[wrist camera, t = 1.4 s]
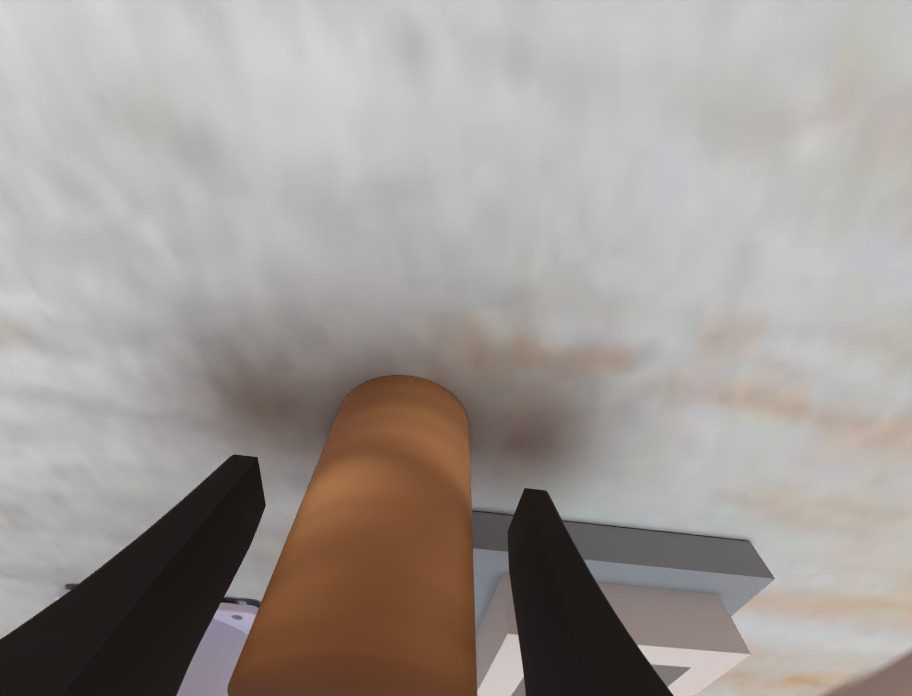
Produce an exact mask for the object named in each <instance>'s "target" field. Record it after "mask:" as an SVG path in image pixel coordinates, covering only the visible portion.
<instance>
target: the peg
mask: <svg viewBox="0 0 912 696" xmlns="http://www.w3.org/2000/svg"><path fill="white" fill-rule="evenodd" d="M227 692H228V696H477V666H476V633H475V600H474V568H473V535H472V502H471V470H470V437H469V421H468V416H467V414H466V411H465V409H464V408H463V406H462V404H461V403H460V402H459V401H458V399H457V398H456V397H455V396H454V395H453V394H451V393H450V392H449V391H447V390H446V389H445V388H443V387H441V386H439V385H438V384H436V383H433V382H431V381H429V380H425V379H422V378H418V377H413V376H404V375H391V376H384V377H379V378H375V379H372V380H369V381H367V382H365V383H363V384H361V385H359V386H358V387H356V388H355V389H354V390H352V391H351V392H350V393H349V394H348V395H347V396H346V398H345V399H344V401H343V402H342V404H341V406H340V409H339V411H338V414H337V416H336V419H335V421H334V424H333V426H332V429H331V431H330V434H329V436H328V438H327V441H326V443H325V446H324V448H323V451H322V453H321V456H320V458H319V461H318V463H317V466H316V468H315V471H314V473H313V476H312V478H311V481H310V483H309V486H308V488H307V490H306V493H305V495H304V498H303V500H302V503H301V505H300V508H299V510H298V513H297V515H296V518H295V520H294V523H293V525H292V528H291V530H290V533H289V535H288V537H287V540H286V542H285V545H284V547H283V550H282V552H281V555H280V557H279V560H278V562H277V565H276V567H275V570H274V572H273V575H272V577H271V580H270V582H269V585H268V587H267V589H266V592H265V594H264V597H263V599H262V602H261V604H260V607H259V609H258V612H257V614H256V617H255V619H254V622H253V624H252V627H251V629H250V632H249V634H248V637H247V639H246V641H245V644H244V646H243V649H242V651H241V654H240V656H239V659H238V661H237V664H236V666H235V669H234V671H233V674H232V676H231V679H230V681H229V684H228V688H227Z"/></svg>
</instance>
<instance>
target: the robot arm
mask: <svg viewBox="0 0 912 696" xmlns="http://www.w3.org/2000/svg"><path fill="white" fill-rule="evenodd" d="M265 506H266V504H265V498H264V492H263V487H262V481H261V475H260V469H259V463H258V457H251V456H242V455H232V456H231V457H229V458H228V459H227V460H226V461H225V462H224V463H223V464H222V465H221V466H219V467H218V468H217V469H216V470H215V471H214V472H213V473H212V474H211V475H210V476H209V477H207V478H206V479H205V480H204V481H203V482H202V483H201V484H200V485H199V486H197V487H196V488H195V489H194V490H193V491H192V492H191V493H190V494H188V495H187V496H186V497H185V498H184V499H183V500H182V501H181V502H179V503H178V504H177V505H176V506H175V507H174V508H172V509H171V510H170V511H169V512H168V513H167V514H165V515H164V516H163V517H162V518H161V519H160V520H158V521H157V522H156V523H155V524H154V525H153V526H151V527H150V528H149V529H148V530H147V531H145V532H144V533H143V534H142V535H141V536H139V537H138V538H137V539H136V540H134V541H133V542H132V543H131V544H129V545H128V546H127V547H126V548H124V549H123V550H122V551H121V552H119V553H118V554H117V555H116V556H114V557H113V558H112V559H111V560H109V561H108V562H107V563H106V564H104V565H103V566H102V567H101V568H99V569H98V570H97V571H95V572H94V573H93V574H91V575H90V576H89V577H87V578H86V579H85V580H83V581H82V582H81V583H80V584H78V585H77V586H75V587H74V588H73V589H71V590H69V589H65V590H61V591H60V592H59V593H58V594H57V595H56V597H55V598H54V603H52V604H51V605H49V606H48V607H47V608H45V609H44V610H42V611H41V612H40V613H38V614H37V615H35V616H34V617H33V618H31V619H30V620H28V621H27V622H25V623H24V624H22V625H21V626H19V627H18V628H17V629H15V630H14V631H12V632H11V633H9V634H8V635H6V636H5V637H3V638H2V639H0V696H228V692H227V688H228V684H229V681H230V679H231V676H232V674H233V671H234V669H235V666H236V664H237V661H238V659H239V656H240V654H241V651H242V649H243V646H244V644H245V641H246V639H247V637H248V634H249V632H250V629H251V627H252V624H253V622H254V619H255V617H256V614H257V612H258V609H259V608H258V607H256V606H253V605H245V604H233V603H222V602H221V601H222V600H223V598H224V596H225V594H226V592H227V590H228V588H229V586H230V584H231V582H232V580H233V578H234V576H235V575H236V573H237V571H238V569H239V567H240V565H241V563H242V561H243V559H244V557H245V555H246V553H247V551H248V549H249V547H250V545H251V542H252V540H253V537H254V535H255V532H256V530H257V527H258V525H259V522H260V519H261V517H262V514H263V512H264V509H265ZM507 533H508V560H509V575H510V582H511V589H512V596H513V603H514V610H515V617H516V624H517V631H518V638H519V645H520V651H521V658H522V665H523V674H524V683H525V693H526V696H674V695H673V694H672V693H671V691H670V690H669V689H668V687H667V686H666V684H665V683H664V682H663V680H662V679H661V678H660V676H659V675H658V674H657V672H656V671H655V670H654V668H653V667H652V666H651V664H650V663H649V661H648V660H647V658H646V657H645V656H644V654H643V653H642V651H641V650H640V649H639V647H638V646H637V644H636V643H635V641H634V640H633V638H632V637H631V636H630V634H629V633H628V631H627V630H626V628H625V627H624V625H623V624H622V622H621V620H620V619H619V617H618V616H617V614H616V613H615V611H614V610H613V608H612V606H611V605H610V603H609V602H608V600H607V599H606V597H605V595H604V594H603V592H602V590H601V589H600V587H599V585H598V584H597V582H596V580H595V579H594V577H593V575H592V574H591V572H590V570H589V568H588V567H587V565H586V563H585V561H584V560H583V558H582V556H581V555H580V553H579V551H578V549H577V547H576V546H575V544H574V542H573V540H572V538H571V536H570V534H569V533H568V531H567V529H566V527H565V525H564V523H563V521H562V519H561V517H560V515H559V514H558V512H557V510H556V508H555V506H554V504H553V502H552V500H551V498H550V496H549V494H548V492H547V491H545V490H536V489H528V488H525V489H524V491H523V494H522V496H521V499H520V501H519V504H518V506H517V509H516V511H515V514H514V516H513V519H512V521H511V524H510V526H509V529H508V531H507Z"/></svg>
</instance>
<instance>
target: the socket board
mask: <svg viewBox="0 0 912 696" xmlns="http://www.w3.org/2000/svg"><path fill="white" fill-rule="evenodd" d="M512 519H513V516H510V515H501V514H492V513H483V512H473V511H472V535H473V568H474V600H475V633H476V666H477V696H526V693H525V683H524V674H523V665H522V658H521V651H520V645H519V638H518V631H517V624H516V617H515V610H514V603H513V596H512V589H511V582H510V575H509V560H508V533H507V531H508V529H509V526H510V524H511V521H512ZM563 523H564V525H565V527H566V529H567V531H568V533H569V534H570V536H571V538H572V540H573V542H574V544H575V546H576V547H577V549H578V551H579V553H580V555H581V556H582V558H583V560H584V561H585V563H586V565H587V567H588V568H589V570H590V572H591V574H592V575H593V577H594V579H595V580H596V582H597V584H598V585H599V587H600V589H601V590H602V592H603V594H604V595H605V597H606V599H607V600H608V602H609V603H610V605H611V606H612V608H613V610H614V611H615V613H616V614H617V616H618V617H619V619H620V620H621V622H622V624H623V625H624V627H625V628H626V630H627V631H628V633H629V634H630V636H631V637H632V638H633V640H634V641H635V643H636V644H637V646H638V647H639V649H640V650H641V651H642V653H643V654H644V656H645V657H646V658H647V660H648V661H649V663H650V664H651V666H652V667H653V668H654V670H655V671H656V672H657V674H658V675H659V676H660V678H661V679H662V680H663V682H664V683H665V684H666V686H667V687H668V689H669V690H670V691H671V693H672V694H673V695H674V696H694V695H695V694H696V693H698V692H699V691H701V690H702V689H703V688H705V687H706V686H708V685H709V684H710V683H712V682H713V681H714V680H716V679H717V678H719V677H720V676H721V675H723V674H724V673H726V672H727V671H728V670H730V669H731V668H733V667H734V666H735V665H737V664H738V663H739V662H741V661H742V660H744V659H745V658H746V657H748V656H749V655H751V654H750V652H749V650H748V648H747V646H746V644H745V643H744V641H743V639H742V637H741V635H740V633H739V631H738V630H737V628H736V626H735V624H734V622H733V620H732V618H731V616H732V615H733V614H734V613H736V612H737V611H738V610H739V609H740V608H741V607H743V606H744V605H745V604H746V603H747V602H748V601H750V600H751V599H752V598H753V597H754V596H755V595H757V594H758V593H759V592H760V591H761V590H762V589H764V588H765V587H766V586H767V585H768V584H770V583H771V582H772V581H773V580H774V579H775V578H774V577H773V575H772V574H771V572H770V571H769V569H768V568H767V566H766V565H765V563H764V562H763V560H762V559H761V557H760V556H759V554H758V553H757V551H756V550H755V548H754V547H753V545H752V544H751V543H750V542H749V541H740V540H731V539H721V538H712V537H703V536H694V535H685V534H675V533H666V532H657V531H648V530H639V529H629V528H620V527H611V526H602V525H593V524H584V523H574V522H565V521H563Z"/></svg>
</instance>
